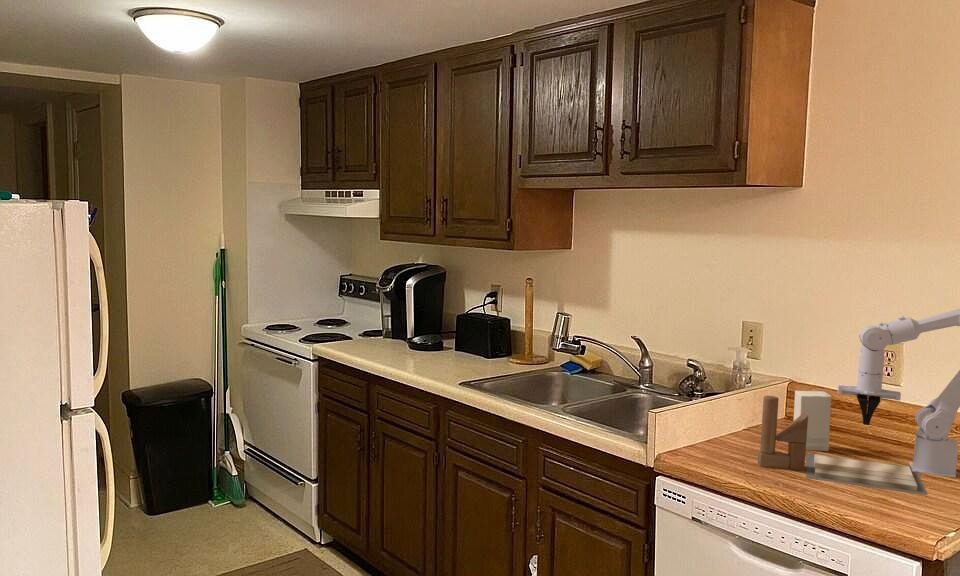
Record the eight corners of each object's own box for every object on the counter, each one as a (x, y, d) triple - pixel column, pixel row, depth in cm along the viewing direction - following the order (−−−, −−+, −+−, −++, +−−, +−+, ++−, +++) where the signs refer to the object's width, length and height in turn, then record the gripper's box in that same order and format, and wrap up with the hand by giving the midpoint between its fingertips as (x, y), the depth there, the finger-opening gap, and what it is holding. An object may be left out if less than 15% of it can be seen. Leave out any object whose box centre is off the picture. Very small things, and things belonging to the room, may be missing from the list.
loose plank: (814, 467, 200) (814, 462, 200) (814, 458, 208) (814, 453, 208) (912, 480, 192) (913, 475, 192) (908, 470, 200) (909, 466, 200)
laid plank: (912, 481, 192) (913, 476, 192) (916, 491, 185) (917, 485, 185) (814, 467, 200) (814, 462, 200) (815, 476, 193) (815, 471, 193)
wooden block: (804, 471, 198) (809, 400, 196) (760, 468, 200) (764, 398, 198) (800, 466, 202) (805, 397, 200) (757, 463, 203) (761, 394, 202)
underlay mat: (915, 468, 203) (915, 467, 203) (927, 496, 182) (927, 495, 182) (805, 454, 212) (805, 453, 212) (806, 479, 192) (806, 477, 192)
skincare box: (821, 445, 221) (825, 390, 220) (829, 452, 215) (833, 396, 213) (790, 443, 222) (794, 389, 221) (797, 450, 216) (801, 394, 214)
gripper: (840, 372, 203) (836, 423, 204) (903, 378, 197) (899, 431, 199) (839, 367, 209) (835, 417, 211) (900, 373, 204) (896, 425, 205)
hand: (866, 424), depth 205 cm, fingers closed
